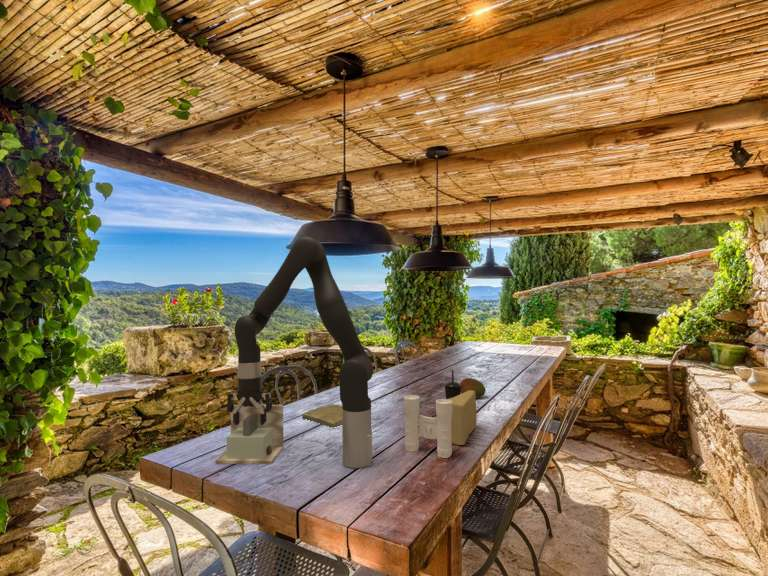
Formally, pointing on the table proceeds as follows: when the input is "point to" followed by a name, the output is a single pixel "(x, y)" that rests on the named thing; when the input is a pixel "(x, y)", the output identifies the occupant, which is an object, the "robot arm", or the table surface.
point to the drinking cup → (452, 388)
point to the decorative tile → (325, 415)
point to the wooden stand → (272, 421)
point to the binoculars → (428, 425)
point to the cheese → (463, 416)
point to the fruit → (473, 386)
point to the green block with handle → (249, 440)
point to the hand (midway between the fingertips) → (249, 424)
